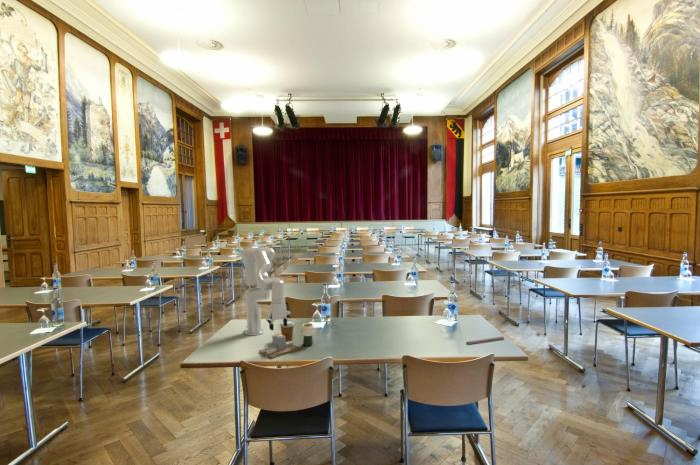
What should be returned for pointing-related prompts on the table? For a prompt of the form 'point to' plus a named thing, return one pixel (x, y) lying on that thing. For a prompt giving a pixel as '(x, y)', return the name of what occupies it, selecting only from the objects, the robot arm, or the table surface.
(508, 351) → the table surface
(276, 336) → the block
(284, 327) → the disposable coffee cup
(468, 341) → the metal rod
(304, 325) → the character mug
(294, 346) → the rail board
